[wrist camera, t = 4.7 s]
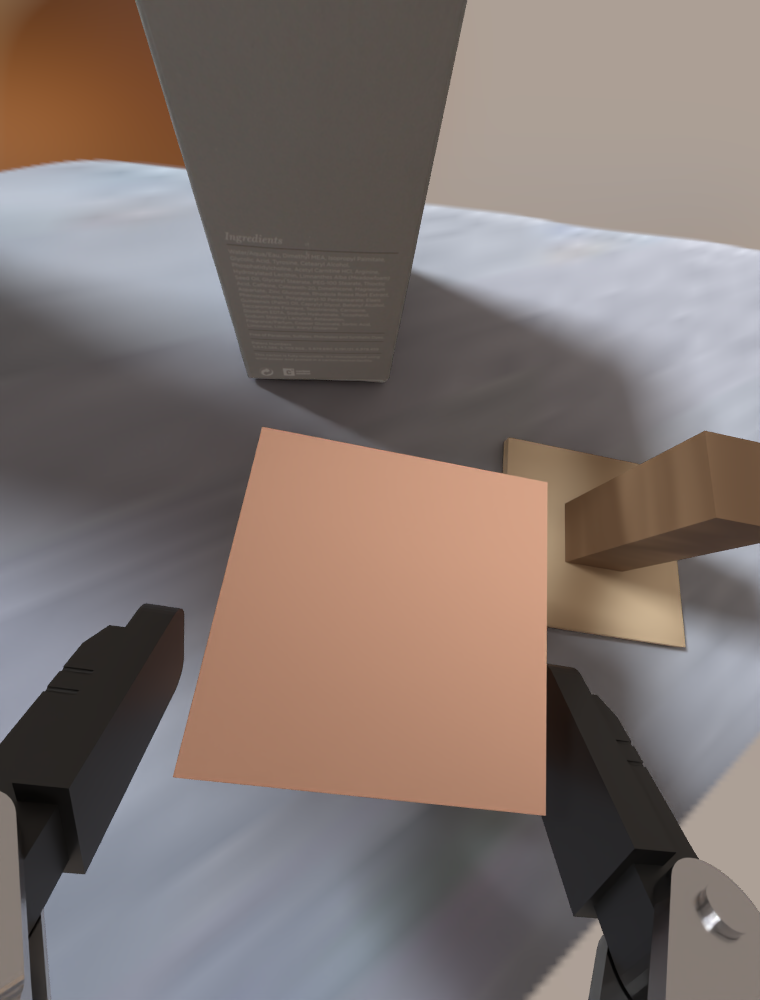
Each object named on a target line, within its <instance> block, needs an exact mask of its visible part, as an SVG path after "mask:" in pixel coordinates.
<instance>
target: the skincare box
mask: <svg viewBox="0 0 760 1000" xmlns="http://www.w3.org/2000/svg"><path fill="white" fill-rule="evenodd" d="M135 1H136V4H137V7H138V11H139V14H140V18H141V21H142V24H143V28H144V31H145V34H146V37H147V41H148V44H149V47H150V51H151V54H152V57H153V61H154V64H155V67H156V70H157V74H158V77H159V80H160V84H161V87H162V90H163V94H164V97H165V100H166V104H167V107H168V110H169V113H170V117H171V120H172V123H173V127H174V130H175V133H176V137H177V140H178V143H179V147H180V150H181V153H182V157H183V160H184V163H185V167H186V170H187V173H188V177H189V180H190V183H191V187H192V190H193V194H194V197H195V200H196V204H197V207H198V210H199V214H200V217H201V220H202V224H203V227H204V230H205V234H206V237H207V240H208V243H209V247H210V250H211V253H212V257H213V260H214V263H215V266H216V270H217V273H218V276H219V280H220V283H221V286H222V290H223V293H224V297H225V300H226V303H227V306H228V310H229V313H230V316H231V320H232V323H233V326H234V330H235V333H236V336H237V340H238V343H239V347H240V351H241V354H242V358H243V361H244V364H245V367H246V371H247V374H248V377H249V378H259V379H319V380H347V381H369V382H383V383H384V382H386V381H387V379H389V376H390V370H391V365H392V360H393V355H394V350H395V345H396V340H397V336H398V331H399V326H400V321H401V316H402V312H403V307H404V302H405V297H406V292H407V287H408V283H409V278H410V274H411V269H412V264H413V258H414V254H415V249H416V244H417V239H418V234H419V229H420V224H421V219H422V214H423V209H424V205H425V200H426V195H427V190H428V185H429V181H430V176H431V171H432V166H433V161H434V156H435V152H436V147H437V142H438V137H439V132H440V128H441V123H442V118H443V113H444V108H445V104H446V98H447V94H448V90H449V85H450V79H451V75H452V70H453V65H454V61H455V56H456V51H457V47H458V41H459V37H460V32H461V27H462V22H463V18H464V13H465V8H466V4H467V0H135Z"/></svg>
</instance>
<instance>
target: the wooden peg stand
mask: <svg viewBox="0 0 760 1000" xmlns="http://www.w3.org/2000/svg"><path fill="white" fill-rule="evenodd" d="M503 474H507V475H512V476H518V477H523V478H528V479H533V480H538V481H543V482H548V485H547V627H550V628H557V629H563V630H570V631H576V632H582V633H589V634H595V635H602V636H608V637H615V638H621V639H628V640H634V641H640V642H647V643H653V644H660V645H666V646H673V647H685V637H684V627H683V616H682V606H681V596H680V585H679V575H678V565H677V560H681V559H686V558H691V557H695V556H700V555H705V554H710V553H714V552H719V551H724V550H729V549H734V548H738V547H743V546H748V545H753V544H757V543H760V443H759V442H754V441H749V440H745V439H740V438H736V437H731V436H727V435H722V434H717V433H713V432H708V431H703V432H702V433H700V434H698V435H696V436H694V437H692V438H690V439H688V440H686V441H684V442H682V443H680V444H678V445H677V446H675V447H673V448H671V449H669V450H667V451H665V452H663V453H661V454H659V455H657V456H655V457H654V458H652V459H650V460H648V461H646V462H644V463H642V464H636V463H632V462H627V461H622V460H617V459H612V458H607V457H602V456H597V455H593V454H588V453H583V452H578V451H573V450H568V449H563V448H559V447H554V446H549V445H544V444H539V443H534V442H529V441H524V440H520V439H515V438H510V437H509V438H508V439H507V440H506V441H505V442H504V453H503Z"/></svg>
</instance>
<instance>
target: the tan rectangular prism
mask: <svg viewBox="0 0 760 1000" xmlns="http://www.w3.org/2000/svg"><path fill="white" fill-rule="evenodd" d="M547 485H548V482H543V481H538V480H533V479H528V478H523V477H518V476H512V475H507V474H502V473H497V472H492V471H487V470H482V469H477V468H471V467H466V466H461V465H456V464H451V463H446V462H441V461H436V460H430V459H425V458H420V457H415V456H410V455H405V454H400V453H395V452H389V451H384V450H379V449H374V448H369V447H364V446H359V445H354V444H348V443H343V442H338V441H333V440H328V439H323V438H318V437H313V436H307V435H302V434H297V433H292V432H287V431H282V430H277V429H272V428H266V427H262V430H261V434H260V438H259V442H258V446H257V449H256V453H255V457H254V461H253V465H252V469H251V473H250V477H249V481H248V485H247V489H246V493H245V497H244V500H243V504H242V508H241V512H240V516H239V520H238V524H237V528H236V532H235V536H234V540H233V544H232V547H231V551H230V555H229V559H228V563H227V567H226V571H225V575H224V579H223V583H222V587H221V591H220V595H219V598H218V602H217V606H216V610H215V614H214V618H213V622H212V626H211V630H210V634H209V638H208V642H207V645H206V649H205V653H204V657H203V661H202V665H201V669H200V673H199V677H198V681H197V685H196V689H195V693H194V696H193V700H192V704H191V708H190V712H189V716H188V720H187V724H186V728H185V732H184V736H183V740H182V743H181V747H180V751H179V755H178V759H177V763H176V767H175V771H174V775H173V777H175V778H185V779H194V780H204V781H214V782H223V783H233V784H243V785H252V786H262V787H272V788H282V789H291V790H301V791H311V792H320V793H330V794H340V795H349V796H359V797H369V798H378V799H388V800H398V801H407V802H417V803H427V804H437V805H446V806H456V807H466V808H475V809H485V810H495V811H504V812H514V813H524V814H533V815H543V816H546V681H547Z"/></svg>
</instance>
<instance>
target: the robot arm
mask: <svg viewBox="0 0 760 1000" xmlns="http://www.w3.org/2000/svg"><path fill="white" fill-rule="evenodd" d="M183 661H184V611H183V609H180V608H174V607H167V606H160V605H153V604H143V605H142V606H141V607H140V608H139V609H138V610H137V612H136V613H135V615H134V616H133V617H132V619H131V620H130V621H129V623H128V624H127V625H126V627H119V626H111V625H109V626H107V627H106V628H104V629H103V630H101V631H100V632H98V633H97V634H95V635H94V636H92V637H91V638H89V639H88V640H86V641H85V642H83V643H82V644H81V646H80V647H79V648H78V649H77V651H76V652H75V653H74V654H73V655H72V657H71V658H70V659H69V660H68V662H67V663H66V664H65V665H64V668H63V670H62V671H59V673H58V674H57V675H56V676H55V677H54V679H53V680H52V681H51V682H50V684H49V685H48V686H47V690H46V691H43V692H42V693H41V695H40V696H39V697H38V698H37V699H36V701H35V702H34V703H33V704H32V706H31V707H30V708H29V709H28V710H27V712H26V713H25V714H24V715H23V717H22V718H21V719H20V720H19V721H18V723H17V724H16V725H15V726H14V728H13V729H12V730H11V731H10V732H9V734H8V735H7V736H6V737H5V739H4V740H3V741H2V742H1V743H0V1000H51V989H50V977H49V966H48V954H47V942H46V930H45V918H44V906H45V904H46V903H47V901H48V899H49V897H50V895H51V893H52V891H53V889H54V887H55V886H56V884H57V882H58V880H59V878H60V876H61V874H62V872H64V873H76V874H85V873H86V871H87V869H88V867H89V865H90V863H91V861H92V859H93V857H94V855H95V853H96V851H97V849H98V847H99V845H100V843H101V841H102V839H103V837H104V834H105V832H106V830H107V828H108V826H109V824H110V822H111V820H112V818H113V816H114V814H115V812H116V810H117V808H118V806H119V804H120V802H121V800H122V798H123V796H124V794H125V792H126V790H127V788H128V786H129V784H130V782H131V779H132V777H133V775H134V773H135V771H136V769H137V767H138V765H139V763H140V761H141V759H142V757H143V755H144V753H145V751H146V749H147V747H148V745H149V743H150V741H151V739H152V737H153V735H154V733H155V731H156V729H157V727H158V724H159V722H160V720H161V718H162V716H163V714H164V712H165V710H166V708H167V706H168V704H169V702H170V700H171V698H172V696H173V694H174V692H175V690H176V687H177V685H178V682H179V679H180V676H181V672H182V668H183ZM642 763H643V762H642V760H641V758H640V756H639V755H638V753H637V751H636V749H635V748H634V746H631V741H630V739H629V737H628V735H627V734H626V732H625V730H624V728H623V727H622V725H621V723H620V721H619V720H618V718H617V716H616V715H615V714H614V713H613V712H612V711H611V710H610V709H609V708H608V707H607V706H606V705H605V704H604V702H603V701H602V700H601V699H600V698H599V697H598V696H597V695H591V693H590V691H589V689H588V687H587V685H586V684H585V682H584V680H583V678H582V676H581V675H580V673H579V672H578V671H577V670H576V669H575V668H571V667H565V666H558V665H551V664H547V681H546V816H543V815H541V816H542V819H543V822H544V826H545V829H546V832H547V835H548V838H549V841H550V844H551V847H552V850H553V854H554V857H555V860H556V863H557V866H558V869H559V872H560V875H561V878H562V882H563V885H564V888H565V891H566V894H567V897H568V900H569V903H570V907H571V910H572V913H573V916H575V917H588V918H598V920H599V923H600V925H601V928H602V931H603V934H604V935H603V936H602V937H601V939H600V940H599V943H598V947H597V952H596V958H595V964H594V970H593V975H592V981H591V988H590V994H589V999H588V1000H760V913H759V911H758V910H757V908H756V907H755V905H754V904H753V903H752V901H751V900H750V899H749V898H748V897H747V895H746V894H745V893H744V892H743V891H742V890H741V889H740V888H739V887H738V886H737V885H736V884H735V883H734V882H733V881H732V880H731V879H730V878H729V877H728V876H726V875H725V874H724V873H722V872H721V871H720V870H718V869H717V868H715V867H713V866H712V865H710V864H708V863H706V862H704V861H701V860H699V858H698V857H697V855H696V854H695V852H694V851H693V849H692V847H691V846H690V844H689V842H688V840H687V838H686V837H685V835H684V833H683V831H682V830H681V828H680V826H679V824H678V823H677V821H676V819H675V817H674V816H673V814H672V812H671V810H670V809H669V807H668V805H667V803H666V802H665V800H664V798H663V796H662V795H661V793H660V791H659V789H658V788H657V786H656V784H655V782H654V781H653V779H652V777H651V775H650V774H649V772H648V770H647V768H646V767H643V765H642Z"/></svg>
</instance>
